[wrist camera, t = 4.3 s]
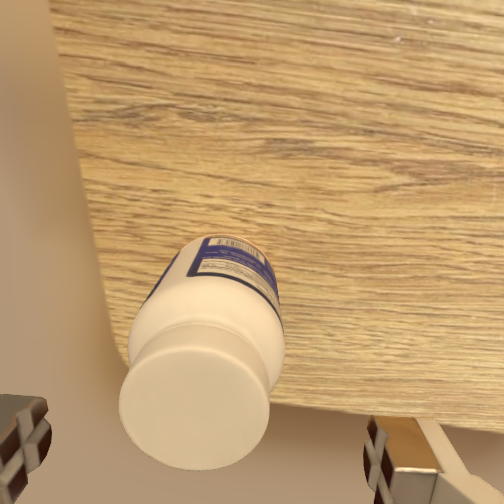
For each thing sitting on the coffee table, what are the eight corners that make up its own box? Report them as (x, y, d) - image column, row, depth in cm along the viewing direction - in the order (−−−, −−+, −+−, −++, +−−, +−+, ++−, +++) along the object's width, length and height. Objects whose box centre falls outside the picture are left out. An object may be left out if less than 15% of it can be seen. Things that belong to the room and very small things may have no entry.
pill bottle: (208, 347, 19) (167, 516, 11) (147, 266, 18) (46, 386, 9) (296, 298, 18) (329, 442, 10) (240, 210, 17) (220, 286, 8)
